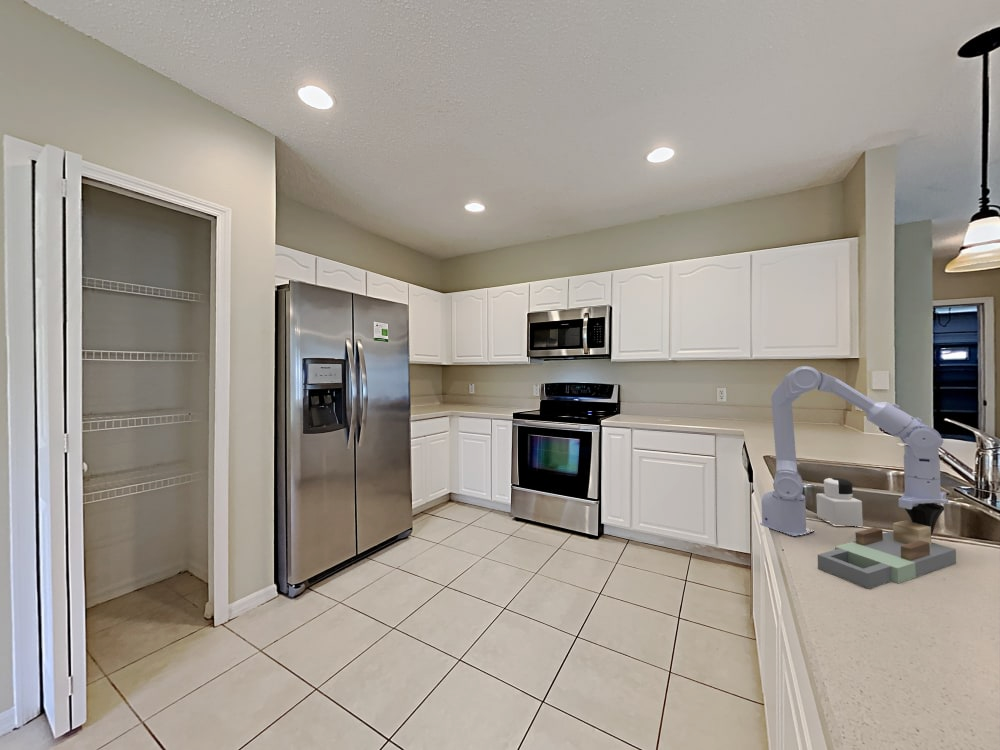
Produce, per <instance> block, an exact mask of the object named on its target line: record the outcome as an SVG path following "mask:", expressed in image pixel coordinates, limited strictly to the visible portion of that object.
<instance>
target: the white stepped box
mask: <svg viewBox="0 0 1000 750" xmlns="http://www.w3.org/2000/svg"><path fill="white" fill-rule="evenodd" d="M823 491H824V493H816V517H817V516H819V517H820V518H823V519H824V518H825V519H827V520H828V521H830V522H831V523H833V524H835V525H847V526H855V527H854V528H857V527H856V526H864V524H863V523H864V521H863V519H864V518H863V501H862V500H860V499H857V498H855V497H853V495H854V494H853V492H854V491H853V483H852V482H851V481H849V480H848V479H844V478H840V477H838V478H837V477H828V478H825V479H823Z"/></svg>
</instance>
